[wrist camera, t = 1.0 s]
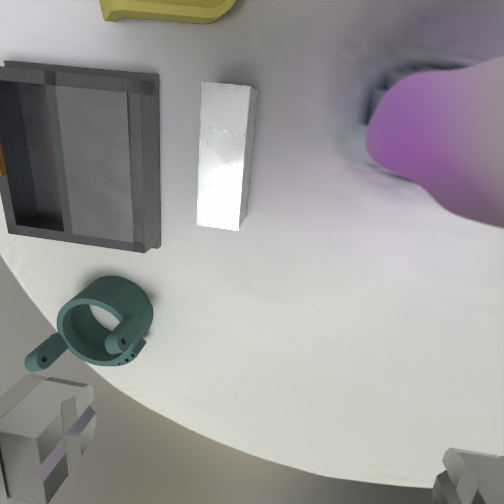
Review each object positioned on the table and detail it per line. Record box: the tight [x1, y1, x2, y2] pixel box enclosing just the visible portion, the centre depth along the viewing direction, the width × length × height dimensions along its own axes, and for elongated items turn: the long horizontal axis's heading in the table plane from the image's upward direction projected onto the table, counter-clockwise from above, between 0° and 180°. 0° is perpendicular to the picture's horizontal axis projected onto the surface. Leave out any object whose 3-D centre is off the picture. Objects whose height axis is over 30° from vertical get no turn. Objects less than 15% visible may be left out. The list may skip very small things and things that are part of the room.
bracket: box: [25, 276, 153, 372], centre depth 34 cm, size 9×9×9 cm
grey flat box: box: [0, 61, 161, 253], centre depth 30 cm, size 16×14×4 cm
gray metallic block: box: [196, 81, 258, 231], centre depth 28 cm, size 11×4×5 cm, turn 174°
